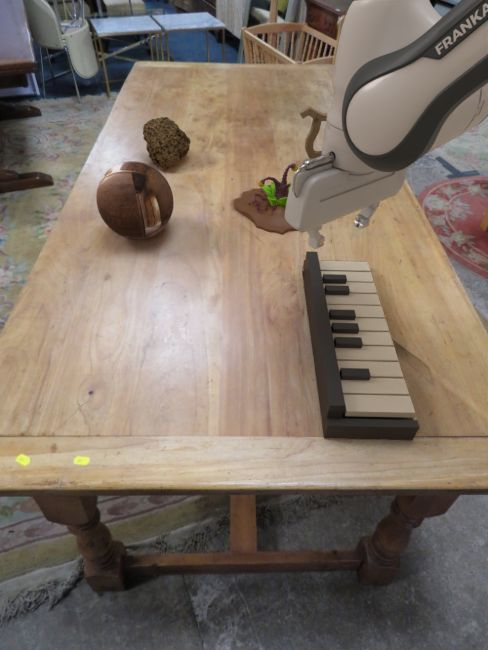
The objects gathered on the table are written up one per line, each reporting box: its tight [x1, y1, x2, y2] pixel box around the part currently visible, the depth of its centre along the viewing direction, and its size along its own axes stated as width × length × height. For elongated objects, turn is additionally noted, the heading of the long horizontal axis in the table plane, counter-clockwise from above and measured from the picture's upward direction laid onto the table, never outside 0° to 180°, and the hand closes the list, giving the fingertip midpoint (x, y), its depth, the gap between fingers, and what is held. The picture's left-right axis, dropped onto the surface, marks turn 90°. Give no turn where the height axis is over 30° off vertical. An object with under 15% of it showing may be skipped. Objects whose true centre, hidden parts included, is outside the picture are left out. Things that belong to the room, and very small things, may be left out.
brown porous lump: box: [142, 116, 192, 171], centre depth 114 cm, size 11×13×15 cm
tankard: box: [299, 105, 328, 159], centre depth 112 cm, size 20×13×15 cm, turn 92°
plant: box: [233, 163, 299, 235], centre depth 95 cm, size 20×20×11 cm
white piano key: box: [343, 394, 416, 419], centre depth 58 cm, size 9×3×1 cm, turn 89°
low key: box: [319, 260, 371, 272], centre depth 79 cm, size 9×3×1 cm, turn 89°
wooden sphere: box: [95, 160, 175, 240], centre depth 87 cm, size 15×15×15 cm
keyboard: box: [301, 250, 421, 441], centre depth 69 cm, size 12×36×6 cm, turn 179°
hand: (338, 236), depth 66 cm, fingers open, 8 cm apart
